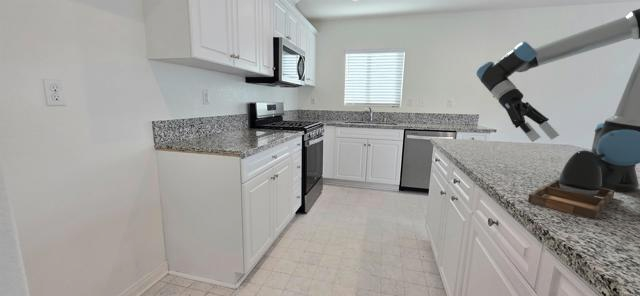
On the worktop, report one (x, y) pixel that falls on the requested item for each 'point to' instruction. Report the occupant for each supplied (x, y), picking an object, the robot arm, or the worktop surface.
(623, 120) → the robot arm
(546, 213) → the worktop surface
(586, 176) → the dark grey egg shape
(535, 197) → the rack
